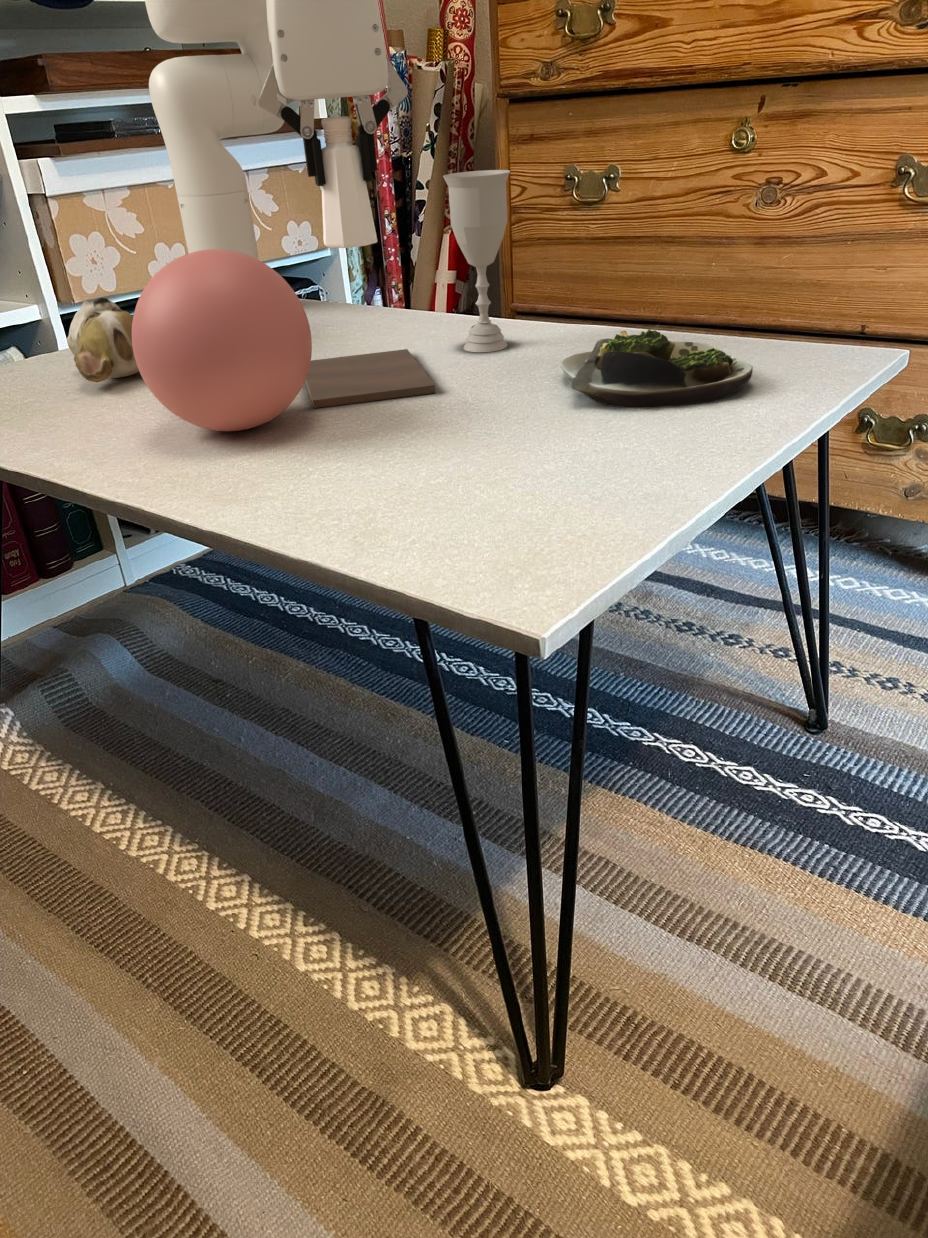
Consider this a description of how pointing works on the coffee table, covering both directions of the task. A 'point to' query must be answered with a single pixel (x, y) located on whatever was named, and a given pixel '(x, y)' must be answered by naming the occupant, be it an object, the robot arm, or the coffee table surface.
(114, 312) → the ceramic sculpture
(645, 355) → the salad plate
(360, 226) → the pepper shaker
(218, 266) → the balloon
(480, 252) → the chalice
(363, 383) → the walnut board
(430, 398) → the coffee table surface
